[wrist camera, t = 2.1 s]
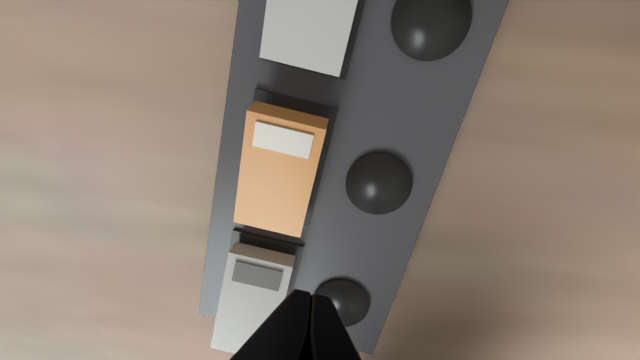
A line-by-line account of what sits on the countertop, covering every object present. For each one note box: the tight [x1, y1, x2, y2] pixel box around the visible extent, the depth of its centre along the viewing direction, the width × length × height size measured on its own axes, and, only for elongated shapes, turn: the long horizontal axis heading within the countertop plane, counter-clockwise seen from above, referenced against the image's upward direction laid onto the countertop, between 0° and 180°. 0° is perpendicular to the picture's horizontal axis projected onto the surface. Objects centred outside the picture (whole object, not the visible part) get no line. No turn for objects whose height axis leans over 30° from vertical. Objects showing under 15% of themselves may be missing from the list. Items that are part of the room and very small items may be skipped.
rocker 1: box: [210, 242, 295, 354], centre depth 17 cm, size 5×3×1 cm, turn 167°
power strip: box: [198, 0, 509, 354], centre depth 18 cm, size 20×10×3 cm, turn 167°
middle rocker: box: [233, 101, 329, 238], centre depth 15 cm, size 5×3×1 cm, turn 167°
